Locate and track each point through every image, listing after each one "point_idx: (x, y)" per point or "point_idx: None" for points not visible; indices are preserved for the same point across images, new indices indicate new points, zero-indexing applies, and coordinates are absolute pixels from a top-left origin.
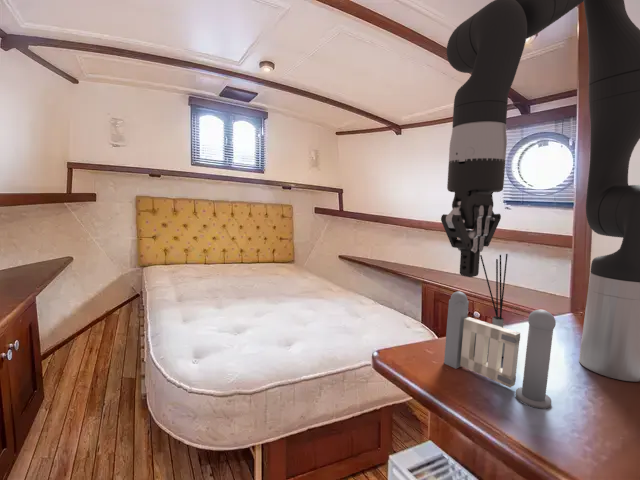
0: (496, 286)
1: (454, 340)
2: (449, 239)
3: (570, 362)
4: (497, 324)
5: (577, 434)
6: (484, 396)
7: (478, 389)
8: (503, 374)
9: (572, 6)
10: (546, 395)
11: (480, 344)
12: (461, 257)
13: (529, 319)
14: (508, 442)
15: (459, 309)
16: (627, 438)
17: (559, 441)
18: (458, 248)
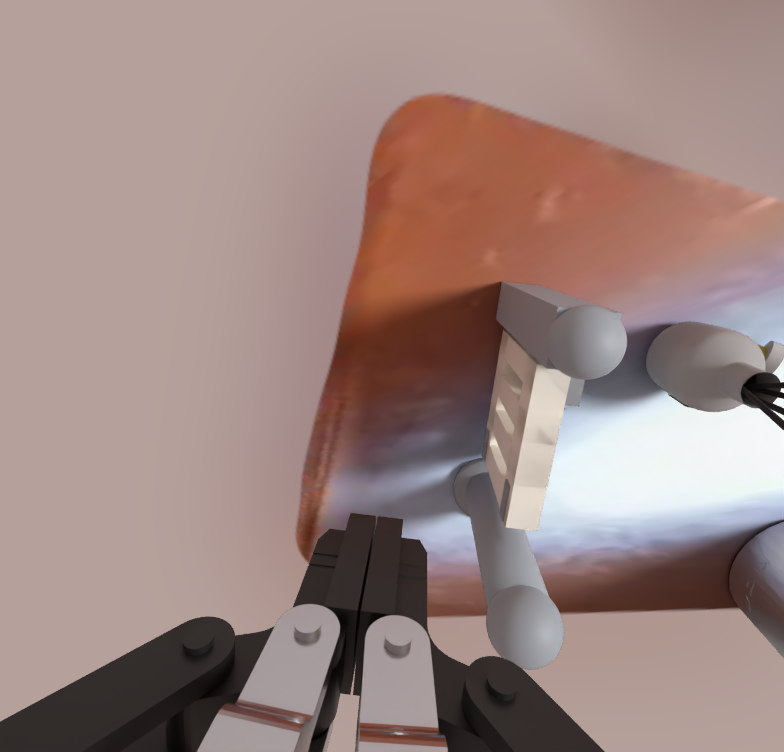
0: None
1: (512, 321)
2: (102, 671)
3: (773, 503)
4: (727, 389)
5: None
6: (417, 418)
7: (437, 398)
8: (488, 446)
9: None
10: None
11: (509, 405)
12: (301, 593)
13: (502, 603)
14: (307, 494)
15: (539, 354)
16: (475, 609)
17: None
18: (235, 640)
